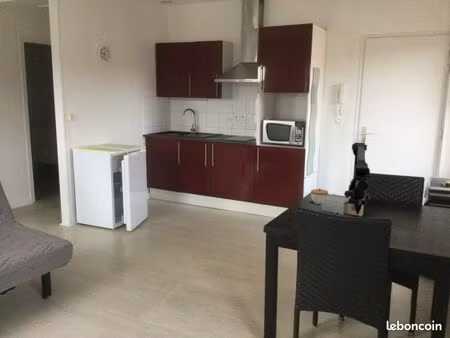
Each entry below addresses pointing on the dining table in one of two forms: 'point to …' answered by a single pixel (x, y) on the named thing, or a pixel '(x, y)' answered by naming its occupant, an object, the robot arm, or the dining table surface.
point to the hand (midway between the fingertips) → (358, 213)
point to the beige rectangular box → (353, 209)
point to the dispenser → (334, 204)
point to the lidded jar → (318, 195)
